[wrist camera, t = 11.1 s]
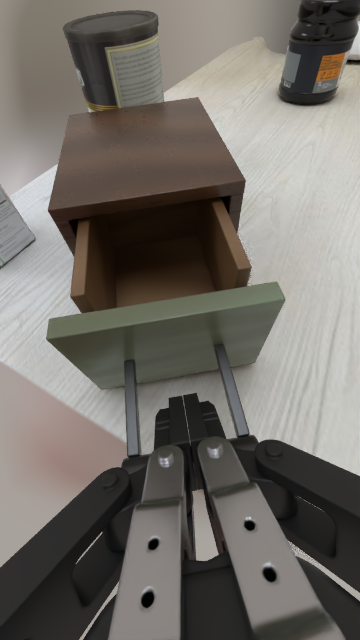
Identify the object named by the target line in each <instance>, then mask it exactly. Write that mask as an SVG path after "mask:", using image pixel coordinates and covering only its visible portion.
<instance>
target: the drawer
mask: <svg viewBox="0 0 360 640" xmlns="http://www.w3.org/2000/svg"><path fill="white" fill-rule="evenodd" d="M251 268H252V267H251V264H250V262H249V260H248V258H247V255H246V253H245V251H244V249H243V246H242V244H241V242H240V239H239V237H238V235H237V233H236V230H235V228H234V226H233V224H232V221H231V219H230V217H229V214H228V212H227V210H226V208H225V205H224V203H223V201H222V198H221V197H217V198H210V199H204V200H197V201H191V202H184V203H177V204H171V205H164V206H158V207H151V208H145V209H138V210H132V211H125V212H118V213H112V214H105V215H99V216H92V217H86V218H79V219H78V229H77V238H76V247H75V257H74V266H73V275H72V285H71V294H70V297H71V299H72V300H73V301H74V303H75V304H76V306H77V307H78V308H79V310H80V311H81V313H82V314H76V315H70V316H64V317H58V318H52V319H49V324H48V330H47V337H46V339H47V341H49V342H50V343H51V344H52V345H53V346H54V347H55V348H56V349H57V350H58V351H60V352H61V353H62V354H63V355H64V356H65V357H66V358H67V359H68V360H69V361H70V362H72V363H73V364H74V365H75V366H76V367H77V368H78V369H79V370H80V371H81V372H83V373H84V374H85V375H86V376H87V377H88V378H89V379H90V380H91V381H92V382H94V383H95V384H96V385H97V386H98V387H99V388H100V389H108V388H114V387H119V386H125V405H126V432H127V456H128V457H129V458H125V459H124V460H123V462H122V467H121V468H123V469H125V470H127V471H128V473H129V474H132V473H134V472H136V471H138V470H140V469H142V468H143V467H145V466H146V465H147V464H148V460H149V457H150V455H151V454H152V453H151V454H145V455H141V441H140V425H139V410H138V394H137V383H142V382H148V381H154V380H159V379H165V378H171V377H177V376H182V375H188V374H194V373H199V372H205V371H211V370H217V369H219V371H220V375H221V378H222V382H223V386H224V390H225V394H226V398H227V402H228V406H229V409H230V413H231V417H232V421H233V425H234V429H235V433H236V437H237V438H232V439H227V440H228V441H229V442H230V443H231V445H232V446H234V447H236V448H238V449H242V450H251V451H254V450H255V447H256V446H257V444H258V443H259V442H258V440H257V439H256V437H255V436H254V435H249V434H250V433H249V429H248V426H247V423H246V419H245V416H244V412H243V409H242V405H241V402H240V398H239V395H238V391H237V388H236V384H235V381H234V377H233V374H232V370H231V367H234V366H239V365H245V364H251V363H255V361H256V359H257V357H258V355H259V353H260V351H261V349H262V347H263V345H264V343H265V341H266V339H267V337H268V334H269V332H270V330H271V328H272V326H273V324H274V322H275V320H276V318H277V316H278V314H279V312H280V310H281V308H282V306H283V304H284V302H285V297H284V295H283V293H282V291H281V289H280V287H279V285H278V283H277V282H271V283H265V284H258V285H252V286H247V284H248V280H249V276H250V272H251ZM190 447H191V446H190ZM191 453H192V448H191ZM192 460H193V454H192ZM193 466H194V473H195V480H196V486H197V490H198V483H197V477H196V471H195V465H194V460H193Z"/></svg>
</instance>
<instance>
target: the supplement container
mask: <svg viewBox="0 0 360 640" xmlns="http://www.w3.org/2000/svg"><path fill="white" fill-rule="evenodd" d="M358 15H360V0H300V4H299V8H298V13H297V16H298V21H297V22H296V23H295V25H294V26H293V27H292V29H291V31H290V40H289V44H288V49H287V54H286V59H285V64H284V68H283V73H282V78H281V83H280V85H279V94H280V96H281V97H282V98H283V99H284V100H286V101H288V102H292V103H296V104H317V103H321V102H324V101H327V100H328V99H330V98H331V97H332V96H333V95H334V94H335V93H336V91H337V88H338V84H339V81H340V79H341V76H342V73H343V70H344V67H345V65H346V62H347V59H348V56H349V53H350V50H351V48H352V45H353V42H354V39H355V37H356V36H357V33H358V30H359V25H358V21H357V18H358Z"/></svg>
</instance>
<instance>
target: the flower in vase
mask: <svg viewBox="0 0 360 640" xmlns="http://www.w3.org/2000/svg"><path fill="white" fill-rule="evenodd" d="M358 25H359V30H358V33H357V36H356V37H355V39H354V42H353V45H352V48H351V50H350V53H349V56H348V59H349V60H360V21H359V22H358Z"/></svg>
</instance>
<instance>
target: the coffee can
mask: <svg viewBox="0 0 360 640" xmlns="http://www.w3.org/2000/svg"><path fill="white" fill-rule="evenodd" d="M63 31H64V34H65V37H66V39H67V41H68V44H69V47H70V51H71V54H72V57H73V61H74V64H75V67H76V71H77V74H78V77H79V81H80V84H81V87H82V91H83V94H84V97H85V100H86V104H87V107H88V110H89V112H95V111H103V110H110V109H117V108H124V107H131V106H139V105H146V104H153V103H160V102H164V94H163V83H162V73H161V62H160V52H159V51H160V50H159V40H158V16H157V14H155V13H153V12H149V11H139V10H138V11H137V10H136V11H117V12H110V13H103V14H96V15H92V16H87V17H84V18H79V19H76V20H73V21H71V22H69V23H67V24H65V25H64V27H63Z"/></svg>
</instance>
